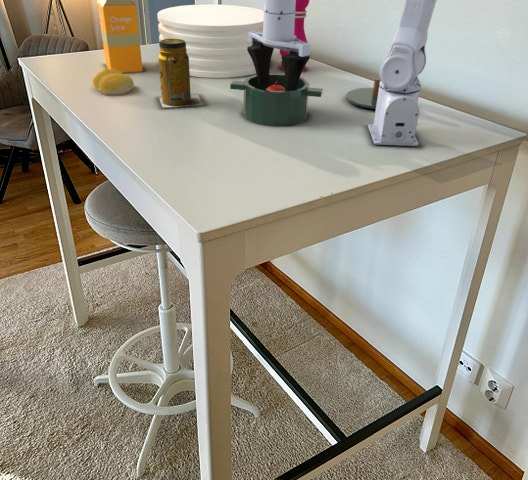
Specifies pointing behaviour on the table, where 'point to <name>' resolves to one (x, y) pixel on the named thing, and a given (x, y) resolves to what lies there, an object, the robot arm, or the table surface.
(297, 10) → the pepper mill
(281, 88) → the apple
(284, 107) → the pot
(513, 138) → the table surface
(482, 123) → the table surface
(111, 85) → the bread roll
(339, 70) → the table surface
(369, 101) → the lid
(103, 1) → the orange juice
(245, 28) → the plate stack
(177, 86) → the condiment
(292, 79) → the robot arm
